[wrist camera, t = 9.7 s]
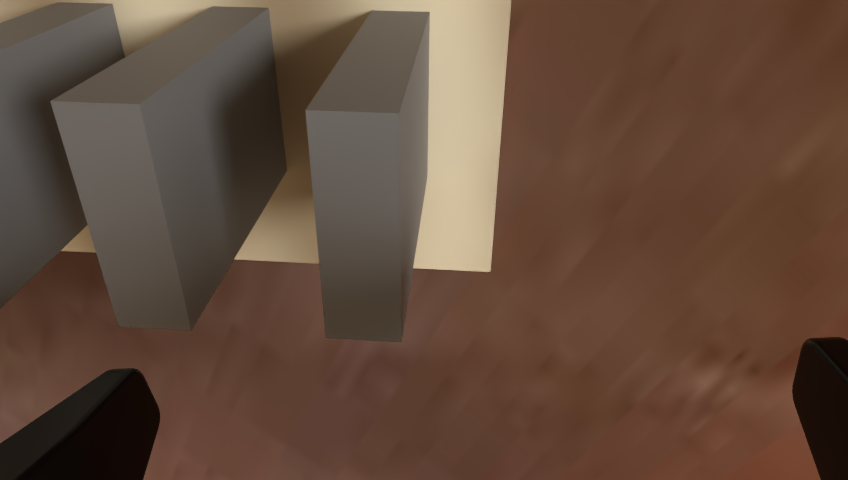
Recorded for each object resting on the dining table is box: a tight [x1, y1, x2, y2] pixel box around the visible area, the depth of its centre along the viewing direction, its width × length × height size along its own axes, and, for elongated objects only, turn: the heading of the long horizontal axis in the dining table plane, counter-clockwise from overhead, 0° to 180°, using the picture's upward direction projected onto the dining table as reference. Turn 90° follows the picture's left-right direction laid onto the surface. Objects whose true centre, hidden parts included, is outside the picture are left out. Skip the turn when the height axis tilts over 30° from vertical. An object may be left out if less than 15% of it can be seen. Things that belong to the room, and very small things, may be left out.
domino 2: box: [50, 6, 287, 330], centre depth 16 cm, size 2×5×8 cm, turn 179°
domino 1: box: [0, 2, 125, 308], centre depth 16 cm, size 2×5×8 cm, turn 179°
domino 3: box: [305, 10, 430, 342], centre depth 16 cm, size 2×5×8 cm, turn 0°
